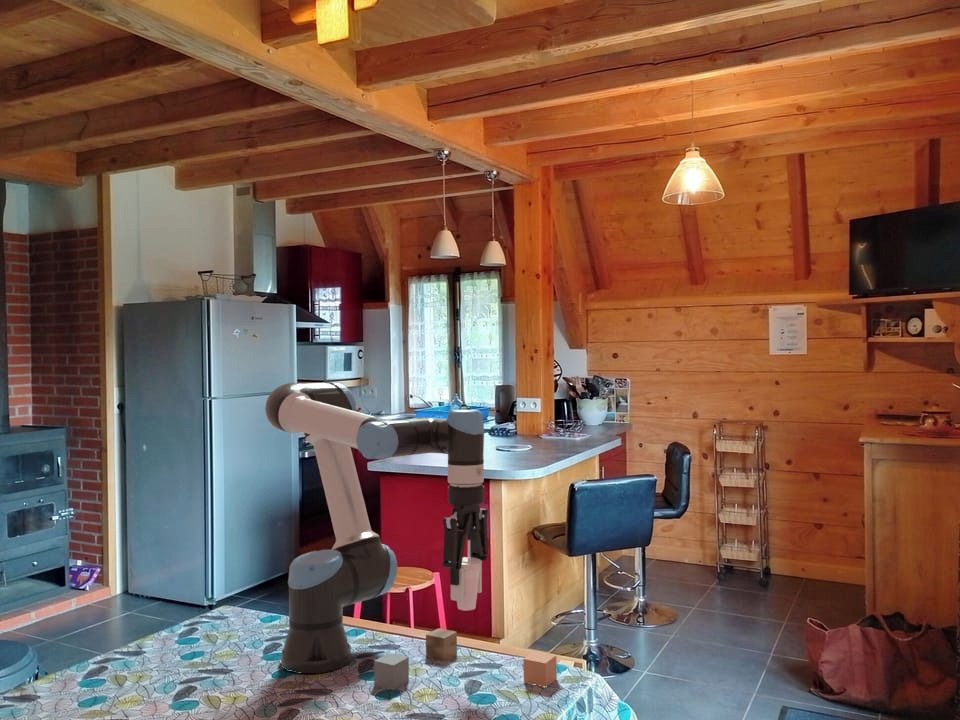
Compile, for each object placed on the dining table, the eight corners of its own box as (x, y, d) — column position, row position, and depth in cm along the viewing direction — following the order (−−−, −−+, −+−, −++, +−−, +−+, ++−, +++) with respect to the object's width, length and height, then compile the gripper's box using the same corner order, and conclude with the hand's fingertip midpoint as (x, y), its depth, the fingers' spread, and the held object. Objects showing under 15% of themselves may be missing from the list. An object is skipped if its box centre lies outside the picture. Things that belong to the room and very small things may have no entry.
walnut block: (426, 657, 168) (425, 634, 168) (438, 650, 172) (438, 628, 172) (444, 661, 165) (444, 638, 166) (456, 654, 170) (456, 631, 170)
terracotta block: (523, 683, 153) (523, 658, 153) (535, 675, 157) (534, 651, 157) (545, 688, 150) (545, 663, 150) (556, 679, 154) (556, 655, 154)
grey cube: (374, 685, 153) (374, 660, 153) (389, 677, 157) (389, 652, 157) (393, 690, 150) (393, 665, 150) (408, 681, 154) (408, 657, 154)
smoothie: (478, 613, 151) (478, 543, 151) (447, 611, 152) (447, 542, 153) (484, 603, 157) (484, 537, 158) (455, 602, 159) (454, 536, 159)
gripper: (455, 491, 145) (455, 611, 145) (504, 479, 162) (505, 587, 161) (424, 488, 149) (424, 605, 149) (475, 477, 166) (475, 582, 165)
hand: (466, 595), depth 155 cm, fingers closed on smoothie, 6 cm apart
